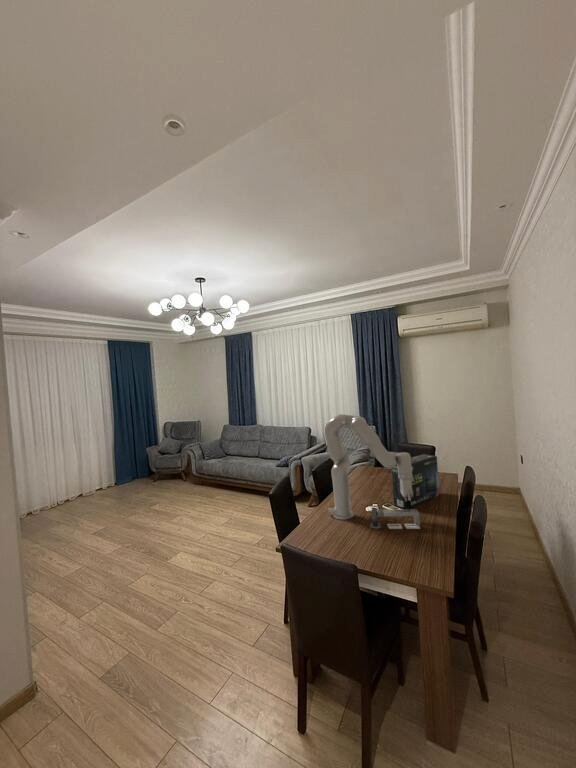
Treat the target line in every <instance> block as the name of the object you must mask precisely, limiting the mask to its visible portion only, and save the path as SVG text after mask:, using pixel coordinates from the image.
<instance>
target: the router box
mask: <svg viewBox="0 0 576 768" xmlns="http://www.w3.org/2000/svg"><path fill="white" fill-rule="evenodd" d="M411 466H412V477H413V478H412V479H411V484H412V493H413V497H411V506H412V508H415V507H416V506H419V505H421V504H424V503H426V502H428V501H431V500H433V499H434V497H435V498H437V496H438V497H440V487H439V483H440V482H439V472H438V457H437V456H436V455H431V454H426V453H425V454H424V453H422V454H420V455H415V456H411ZM390 470H391V481H392V483H391V484H392V485H391V486H392V499H393V503H392V504H393V506H396V507H398V508H400V509H411V508H405V501H404V500H405V499H404V497H403V496H402V494H401V492H400V478H398V468H397V464H396V466H395V467H394V468H392V469H390Z"/></svg>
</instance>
